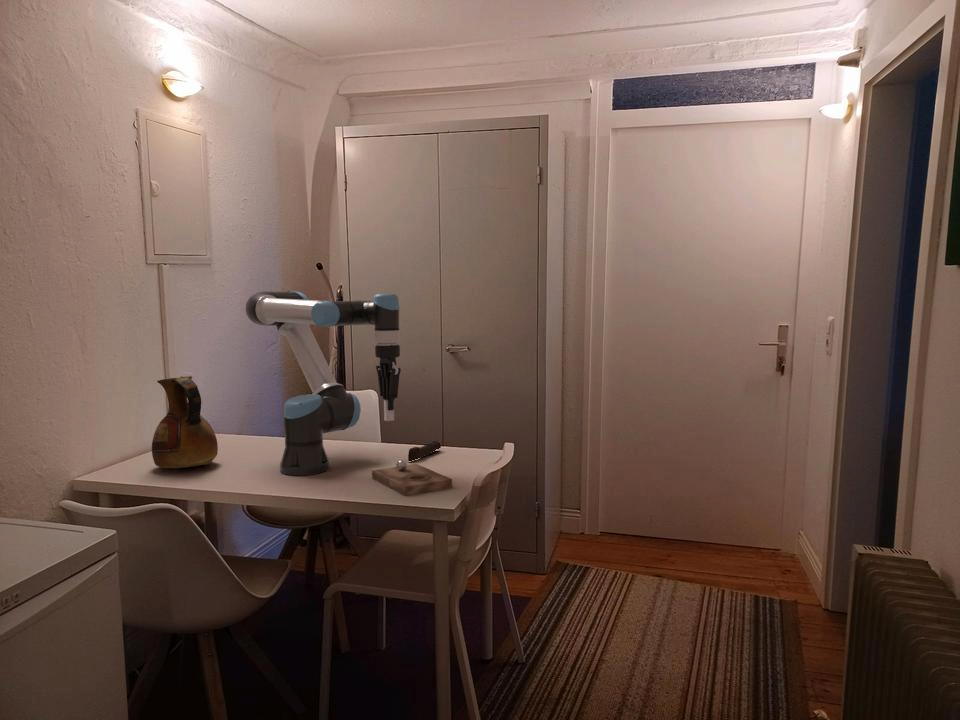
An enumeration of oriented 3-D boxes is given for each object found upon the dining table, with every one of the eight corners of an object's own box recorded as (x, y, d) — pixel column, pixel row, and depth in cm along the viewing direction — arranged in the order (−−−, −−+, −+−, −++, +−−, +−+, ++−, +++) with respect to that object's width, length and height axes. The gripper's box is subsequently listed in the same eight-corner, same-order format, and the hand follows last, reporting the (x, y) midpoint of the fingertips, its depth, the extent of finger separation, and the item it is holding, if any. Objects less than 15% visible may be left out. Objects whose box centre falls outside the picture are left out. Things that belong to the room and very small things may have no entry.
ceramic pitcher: (192, 457, 239) (188, 371, 237) (232, 464, 229) (228, 374, 226) (139, 470, 222) (134, 377, 220) (179, 478, 212) (175, 380, 209)
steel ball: (399, 472, 207) (399, 461, 207) (394, 470, 210) (394, 459, 210) (409, 470, 209) (408, 460, 209) (404, 468, 212) (404, 458, 211)
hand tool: (431, 451, 248) (431, 438, 248) (441, 452, 246) (441, 439, 246) (401, 462, 231) (401, 449, 231) (411, 464, 229) (411, 450, 229)
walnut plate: (404, 495, 191) (404, 486, 191) (372, 478, 210) (372, 470, 210) (451, 487, 200) (451, 479, 199) (416, 471, 218) (416, 463, 218)
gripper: (408, 344, 210) (409, 422, 212) (389, 342, 221) (391, 416, 223) (385, 345, 206) (387, 424, 208) (367, 343, 217) (369, 418, 219)
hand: (389, 420), depth 216 cm, fingers closed
